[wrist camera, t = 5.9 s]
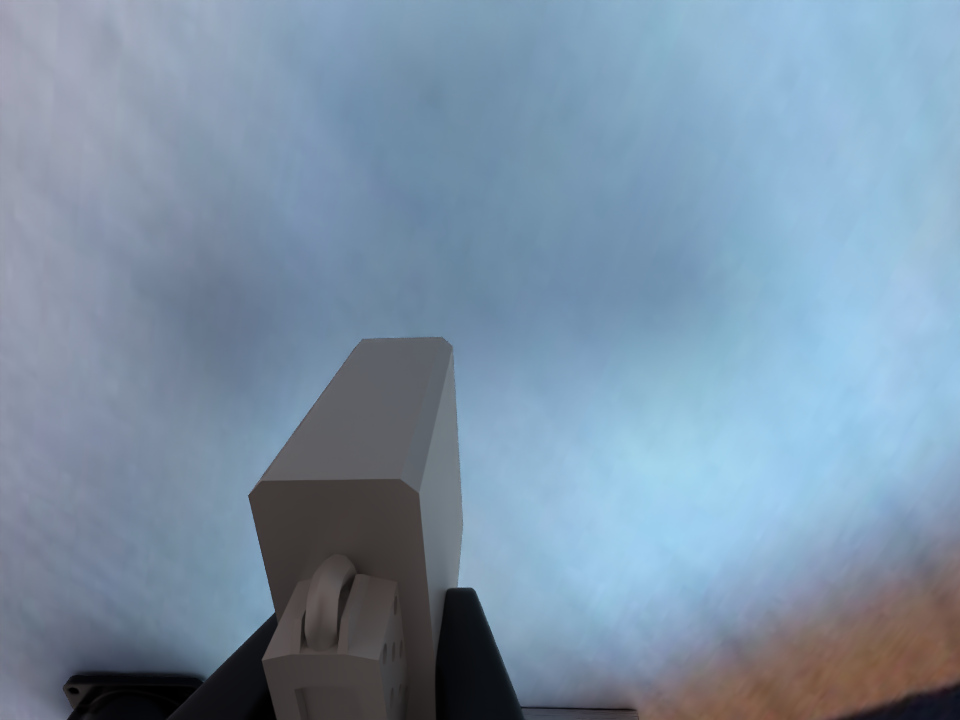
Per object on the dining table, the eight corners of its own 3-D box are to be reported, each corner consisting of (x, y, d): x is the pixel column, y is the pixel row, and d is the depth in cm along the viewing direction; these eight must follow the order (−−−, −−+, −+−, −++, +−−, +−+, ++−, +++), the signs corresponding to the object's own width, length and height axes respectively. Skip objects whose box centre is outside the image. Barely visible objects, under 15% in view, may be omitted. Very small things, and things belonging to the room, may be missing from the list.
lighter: (353, 339, 9) (-228, 1099, 2) (452, 336, 9) (261, 1116, 2) (392, 640, 12) (216, 1459, 4) (470, 640, 12) (422, 1473, 4)
